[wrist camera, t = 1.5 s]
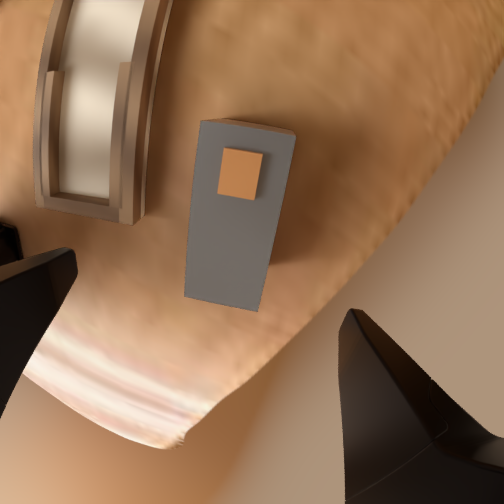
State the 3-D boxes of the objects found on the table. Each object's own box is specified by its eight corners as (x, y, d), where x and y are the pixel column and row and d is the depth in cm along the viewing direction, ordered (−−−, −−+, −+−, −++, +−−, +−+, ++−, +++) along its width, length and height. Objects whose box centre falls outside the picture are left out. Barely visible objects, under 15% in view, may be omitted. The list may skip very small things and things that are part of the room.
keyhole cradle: (144, 215, 19) (132, 225, 17) (50, 199, 19) (36, 206, 17) (191, -59, 9) (183, -71, 8) (83, -37, 10) (70, -43, 8)
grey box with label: (263, 265, 20) (257, 315, 15) (205, 253, 20) (182, 299, 15) (292, 130, 16) (296, 136, 11) (223, 118, 16) (199, 121, 11)
